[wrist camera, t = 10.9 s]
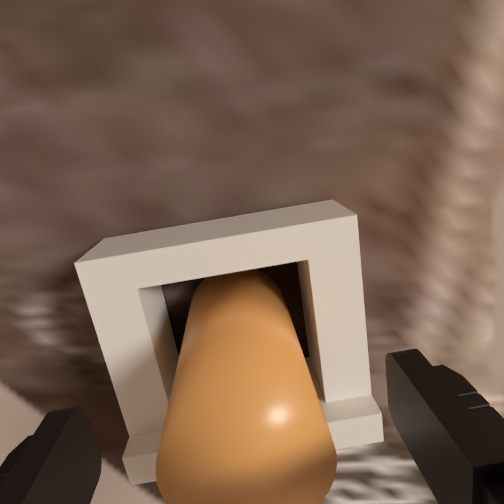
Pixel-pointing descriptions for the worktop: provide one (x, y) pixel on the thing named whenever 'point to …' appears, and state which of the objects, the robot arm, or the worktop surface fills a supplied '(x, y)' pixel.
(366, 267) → the worktop surface
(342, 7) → the worktop surface
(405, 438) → the robot arm
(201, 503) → the orange capsule
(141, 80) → the worktop surface
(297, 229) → the housing
